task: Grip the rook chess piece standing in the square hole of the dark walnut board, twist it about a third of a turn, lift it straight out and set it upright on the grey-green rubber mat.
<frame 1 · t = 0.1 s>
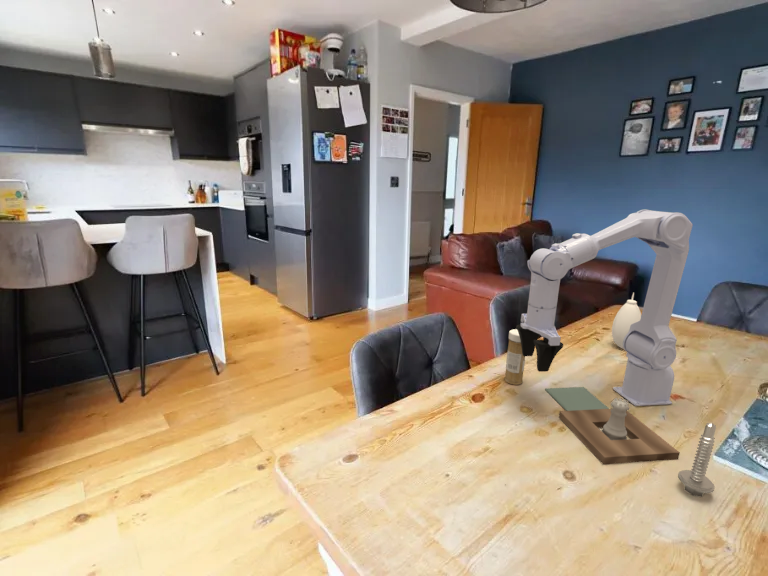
hand: (534, 362, 90), 10 cm above the table, tool pointing down, fingers open, 7 cm apart
rubber mat: (575, 399, 94), on the table
socket board: (613, 436, 81), on the table
screw: (693, 492, 67), on the table
rook chess piece: (613, 437, 81), resting in socket board
rubber bulb air blower: (622, 348, 125), on the table
sprinkles bottle: (513, 381, 103), on the table
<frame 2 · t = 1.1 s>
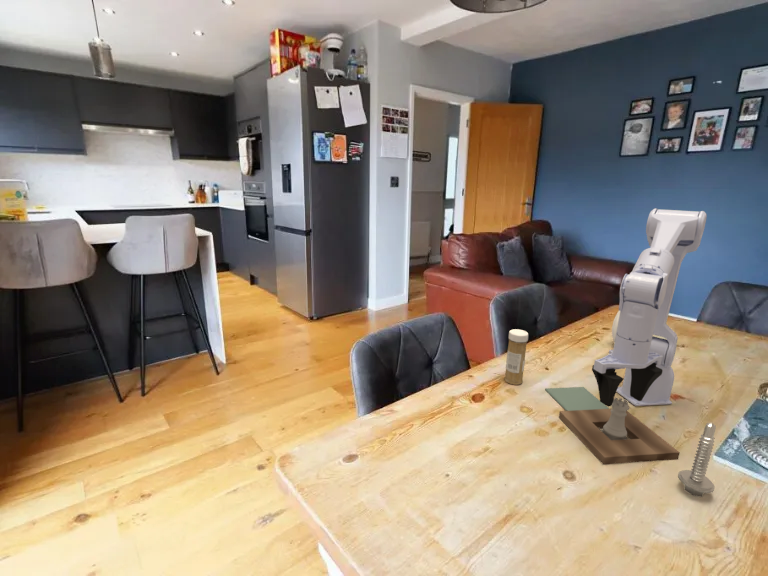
hand: (620, 401, 79), 8 cm above the table, tool pointing down, fingers open, 7 cm apart
nothing on the table moved.
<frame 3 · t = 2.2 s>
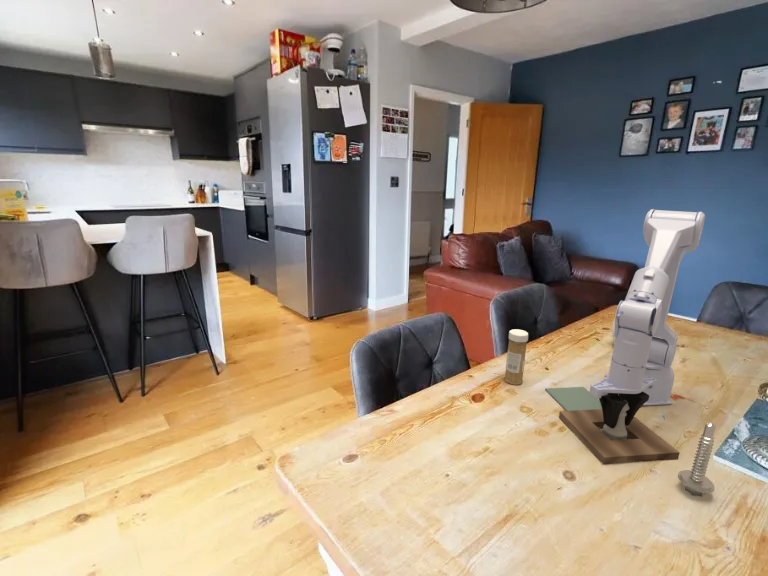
hand: (616, 424, 80), 3 cm above the table, tool pointing down, fingers closed on rook chess piece, 3 cm apart
rook chess piece: (613, 437, 81), resting in socket board, touching gripper
everything else where it was.
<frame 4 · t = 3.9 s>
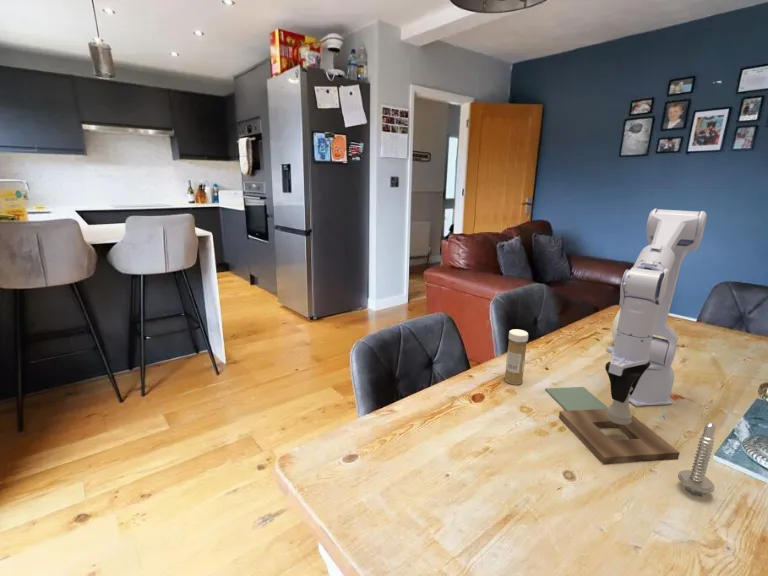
hand: (621, 397, 79), 9 cm above the table, tool pointing down, fingers closed on rook chess piece, 3 cm apart
rook chess piece: (618, 420, 80), point 4 cm above the table, touching gripper
everything else where it was.
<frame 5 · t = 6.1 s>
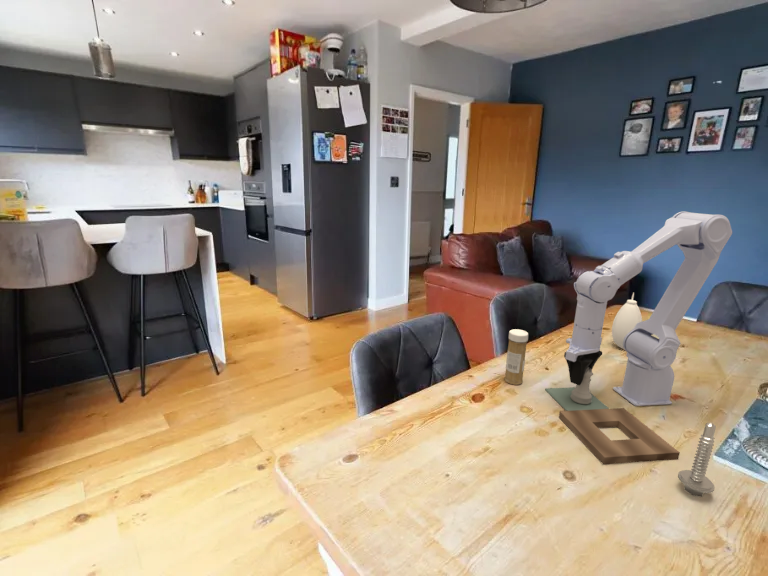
hand: (578, 380, 93), 5 cm above the table, tool pointing down, fingers closed on rook chess piece, 3 cm apart
rook chess piece: (580, 401, 93), resting on rubber mat, touching gripper
everything else where it was.
when the fingers open (5 cm above the table, at t = 6.4 s): rook chess piece stays where it is, resting on rubber mat.
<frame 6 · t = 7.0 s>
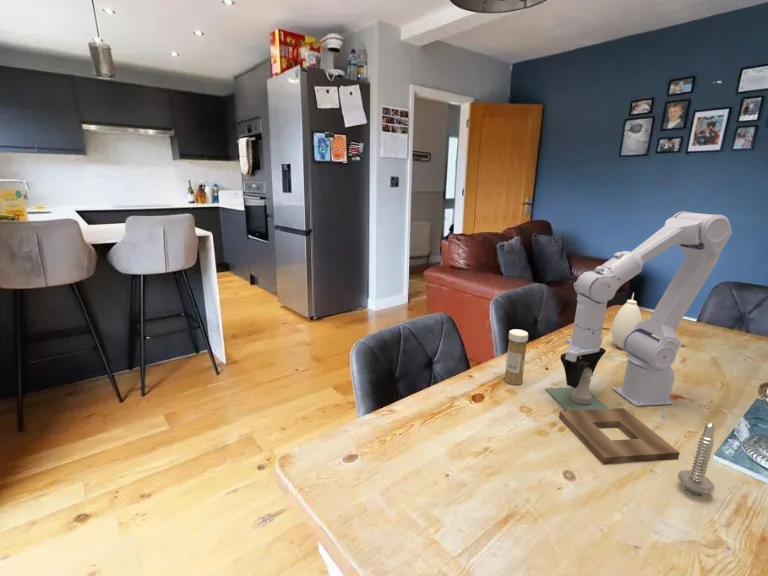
hand: (579, 380, 93), 5 cm above the table, tool pointing down, fingers open, 7 cm apart
rook chess piece: (580, 401, 93), resting on rubber mat
everything else where it was.
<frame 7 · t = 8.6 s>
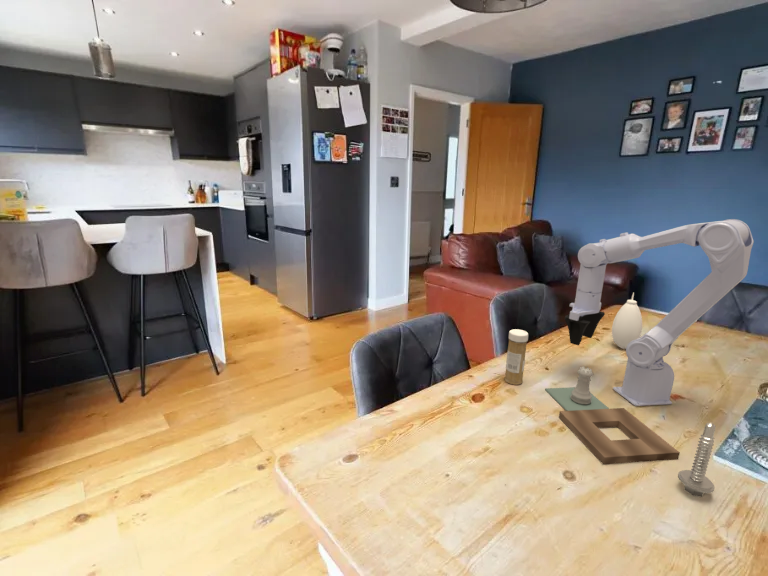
hand: (581, 340, 105), 9 cm above the table, tool pointing down, fingers open, 7 cm apart
nothing on the table moved.
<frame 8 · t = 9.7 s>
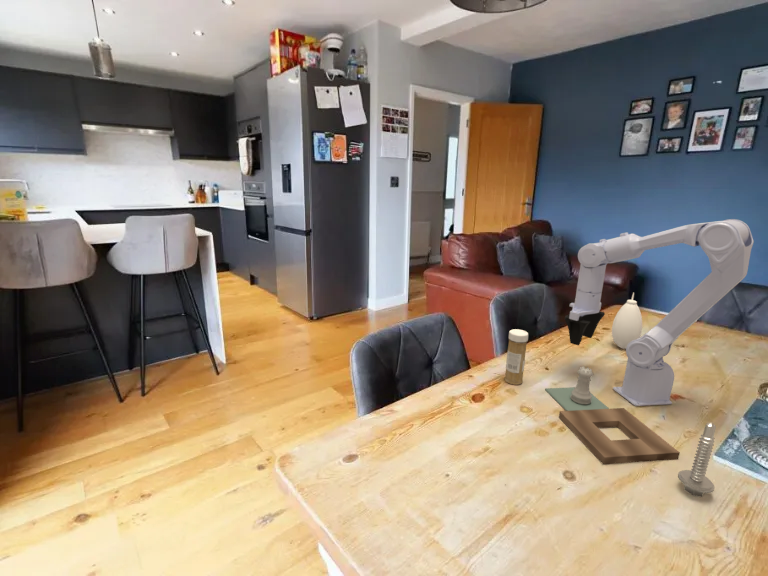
hand: (581, 340, 105), 9 cm above the table, tool pointing down, fingers open, 7 cm apart
nothing on the table moved.
at the end: rook chess piece inside the target area on the rubber mat (1.1 cm from its centre), point 0.2 cm above the rubber mat's base; rook chess piece tilted 0°; the gripper is holding nothing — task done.
